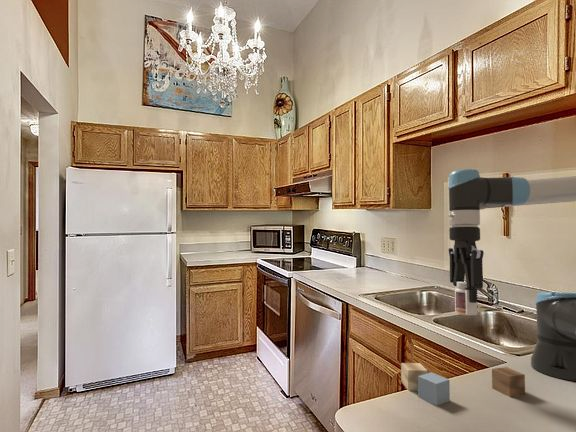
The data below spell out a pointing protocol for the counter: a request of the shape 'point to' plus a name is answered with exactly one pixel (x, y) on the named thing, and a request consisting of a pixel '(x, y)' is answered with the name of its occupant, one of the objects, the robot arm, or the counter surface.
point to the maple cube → (411, 374)
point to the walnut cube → (508, 381)
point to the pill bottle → (460, 298)
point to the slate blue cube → (433, 388)
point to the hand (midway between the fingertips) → (465, 312)
